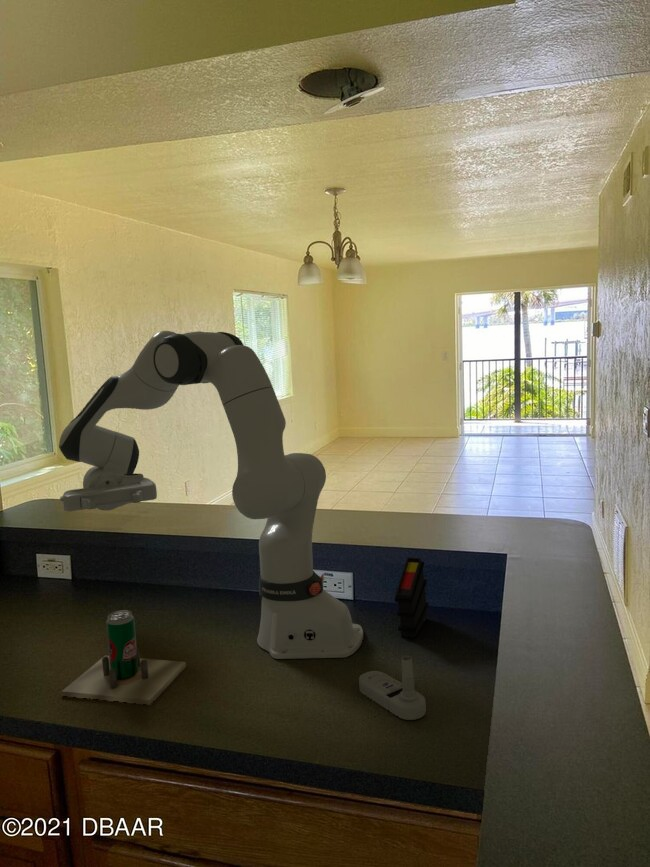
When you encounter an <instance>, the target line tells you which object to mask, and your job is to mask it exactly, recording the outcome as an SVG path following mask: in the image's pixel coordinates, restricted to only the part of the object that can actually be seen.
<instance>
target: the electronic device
mask: <svg viewBox="0 0 650 867" xmlns="http://www.w3.org/2000/svg"><path fill="white" fill-rule="evenodd" d="M400 661H401V662H400V663H401V681H399V680H397V679H396V678H394V677H392V676H390V675H388V674H387V673H385V672H383V671H379V670H371V671H366V672H364V673H362V674H360V675H359V677H358V686H359V687H358V688H359V692H360V693H361V694H363V695H364V696H365V695H366V697H367V698H368V697H369V698H368V699H370V700H371V699H372V701H373V702H374V701H375V702H374V703H376V704H378V705H379V706H380V707H382V708H384V709H386V710H387V711H388V710H389V711H388V712H390V713H391V714H393V715H395V717H397V716H398V718H400V719H402V720H406V721H414V720H419V719H422V718H423V717H424V716H425V715H426V713H427V712H426V711H427V701H426V698H425V696H423V694H422V693H420V692H418V691H416V690H415V676H414V669H413V658H412V656H411V655H403V656H401V658H400Z"/></svg>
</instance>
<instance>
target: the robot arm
mask: <svg viewBox="0 0 650 867" xmlns="http://www.w3.org/2000/svg"><path fill="white" fill-rule="evenodd" d="M197 384H211V385H213V386H214V387H215V389H216V390H217V393H218V395H219V399H220V401H221V404H222V406H223V410H224V412H225V415H226V417H227V421H228V423H229V426H230V430H231V432H232V434H233V438H234V441H235V446H236V455H237V456H236V457H237V472H236V476H235V480H234V482H233V484H232V489H231V494H232V501H233V503H234V507H235V508H236V509H237V510H238V512H239V513H240V514H241V515H242V516H243V517H246V518H248V519H249V520H265V519H267V520H266V524H265V526H264V528H263V530H262V532H261V534H260V536H259V540H258V552H259V554H258V556H259V568H260V569H259V570H260V575H259V576H258V594H259V600H260V602H261V612H260V623H259V630H258V635H257V640H256V642H257V644H258V646H259V647H260V649H261V648H262V649H263V650H265V651H267V652H268V653H269V654H270V656H271V657H272V658H273V659H277V660H278V659H280V660H281V659H282V660H285V659H288V660H289V659H291V660H292V659H327V658H328V659H333V658H348V657H350V656H352V655H353V654H355V652H356V651H357V650H359V648H360V647H361V645H362V643H363V641H362V640H364V630H363V627H362V626H361V625H360V624H358V623H354V622H353V619H352V616H351V612H350V610H349V607H348V606H347V605H346V604H345V603H344V602H342V601H341V600H339V599H337V598H336V597H335V596H333V595H332V594H331V593H329V592H328V591H326V590H325V589H324V580H325V575H324V573H322V574H321V576H320V575H319V574H318V573H316V572H315V571H314V565H313V564H314V561H313V530H314V523H315V518H316V512H317V507H318V504H319V502H318V501H319V498H320V494H321V492H322V490H323V488H324V486H325V484H326V481H327V473H326V469H325V467H324V466H325V465H324V464H323V463H322V461H321V460H320V459H319V458H318V457H316V456H315V455H313V454H310V453H304V452H292V453H287V454H285V450H284V440H283V437H284V436H283V435H284V431H285V428H286V425H287V423H286V417H285V415H284V413H283V410H282V408H281V405H280V402H279V399H278V397H277V395H276V392H275V389H274V387H273V383H272V382H271V379H270V378H269V375H268V373H267V371H266V369H265V367H264V365H263V363H262V361H261V360H260V358H259V357H258V355H257V353H256V352H255V351H254V349H253V348H251V347H249V346H247V345H244V343H243V342H242V340H241V339H240V338H239V337H238V336H236V335H235V334H232V333H229V332H226V331H225V332H224V331H217V332H211V331H200V330H199V331H191V332H190V331H188V332H185V333H178V332H177V333H176V332H175V331H171V330H162V331H159V332H157V333H155V334H154V335H153V336H152V337H151V338H150V339H149V340H148V342H147V343H146V344H145V345H144V346H143V348H142V350H141V351H140V352H139V354H138V355H137V357H136V359H135V360H134V363H133V365H132V366H131V367H130V368H129V369H128V370H127V371H125V372H123V373H121V374H119V375H113V376H110V377H109V378H107V379H106V380H105V381H104V382H103V384H102V385H100V387H99V388H98V389H97V390H96V392H95V393H94V394H93V396H92V397H91V398H90V399H89V401H87V403H86V404H85V405H84V407H83V408H82V409H81V410H80V412H79V413H78V414H77V415H76V416H75V418H73V419H72V420H71V421H70V422H69V423H68V425H67V426H66V427H65V428H64V429H63V430H62V433H61V435H60V438H59V442H58V448H59V450H60V452H61V454H62V455H63V456H64V458H65V459H66V460H68V461H72V462H77V463H83V464H87V465H89V466H92V467H90V468H89V469H88V470H87V471H86V472H85V474H84V476H83V478H82V480H83V481H82V488H76V489H69V490H66V491H64V492H63V494H62V495H61V496H60V497H59V500H60V502H62V504H63V510H64V511H65V512H75V511H77V512H78V511H83V510H94V509H98V510H99V511H107V512H108V511H111V510H112V511H113V510H115V509H117V508H119V507H122V506H125V505H128V504H135V503H136V504H138V503H141V502H146V501H147V502H148V501H155V500H156V499H157V497H158V495H157V494H158V493H157V492H158V490H157V485H156V483H155V482H154V481H153V480H152V479H150V478H148V477H144V474H143V473H134V472H135V471H136V468H137V465H138V462H139V458H140V449H139V446H138V443H137V441H136V438H134V437H133V436H130V435H127V434H124V433H121V432H118V431H115V430H111V429H108V428H106V427H103V426H99V425H97V424H98V423H99V421H100V420H101V419H102V418H103V417H104V415H105V414H106V413H107V412H109V411H111V410H115V409H135V410H143V411H144V410H155V409H157V408H161V407H163V406H164V405H166V404H168V403H169V401H170V400H171V398H172V397H173V396H174V394H175V393H176V392H177V389H178V388H179V386H188V385H197Z"/></svg>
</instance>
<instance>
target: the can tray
mask: <svg viewBox="0 0 650 867" xmlns="http://www.w3.org/2000/svg"><path fill="white" fill-rule="evenodd" d="M137 657H138V668H139V670H138V672H137V674H136V675H135V676H133V677H132V678H129V679H126V680H117V679H116V670H115V669H113V668H112V669H110V660H109V655H104V656H103V657H101V658H100V659H99V660H98V661H96V662H95V663H94V664H93V665H92V666H90V667H89V668H88V669H87V670H86V671H84V672H83V673H82V674H81V675H80V676H78V677H77V678H76V679H74V681H72V682H70V683H69V685H68V686H66V687H65V688H63V690H61V696H62V697H63V696H67V697H66V698H73V697H76V699H83V698H87V699H86V700H93V699H99V700H98V701H103V700H107V701H106V702H113V701H119V702H118V703H123V702H127V703H126V704H133V703H136V704H135V705H143V704H146V705H145V706H151V705H152V704H153V703H154V702H155V701H156V700H157V699H158V698H159V697H160V695H162V693H163V692H164V691H165V690H166V689H167V688H168V687H169V686H170V684H172V683H173V682H174V681H175V680H176V679H177V677H178V676H179V675H180V674H181V673H182V672H183V671H184V670H185V669H186V668H187V662H186V661H176V660H166V659H165V660H164V659H153V658H140V657H141V656H140V650H139V647H137ZM89 698H90V699H89ZM153 701H154V702H153ZM151 703H152V704H151Z"/></svg>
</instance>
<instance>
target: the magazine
mask: <svg viewBox="0 0 650 867" xmlns="http://www.w3.org/2000/svg"><path fill="white" fill-rule="evenodd" d="M405 560H406V561H405V564H404V567H403V570H402V572H401V576H400V579H399V582H398V584H397V589H396V591H395V596H394V602H395V603H397V605H398V610H397V613H396V615H397V616H398V617H399V619H400V620H399V623H400V624H399V626H398V629H397V630H398V632H400V637H401V636H407V637H415V636H416V637H417V635H418V633H419V632H420V630H421V628H422V627H421V625H422V623H423V622H424V619H425V618H426V616H427V617H428V614H427V611H428V609H429V607H430V606H429V602H427V595H426V588H427V587H426V586H427V583H428V580H427V579H426V578H425V576H424V574H425V573H424V568H425V567H424V566H425V562H424V561H422V559H421V558H419V557H407V558H406V559H405ZM426 619H427V618H426ZM424 623H425V622H424ZM424 623H423V624H424ZM422 626H423V625H422ZM420 627H421V628H420ZM419 629H420V630H419ZM418 631H419V632H418ZM417 632H418V633H417ZM416 634H417V635H416ZM407 637H406V638H407ZM416 637H415V638H416Z"/></svg>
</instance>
